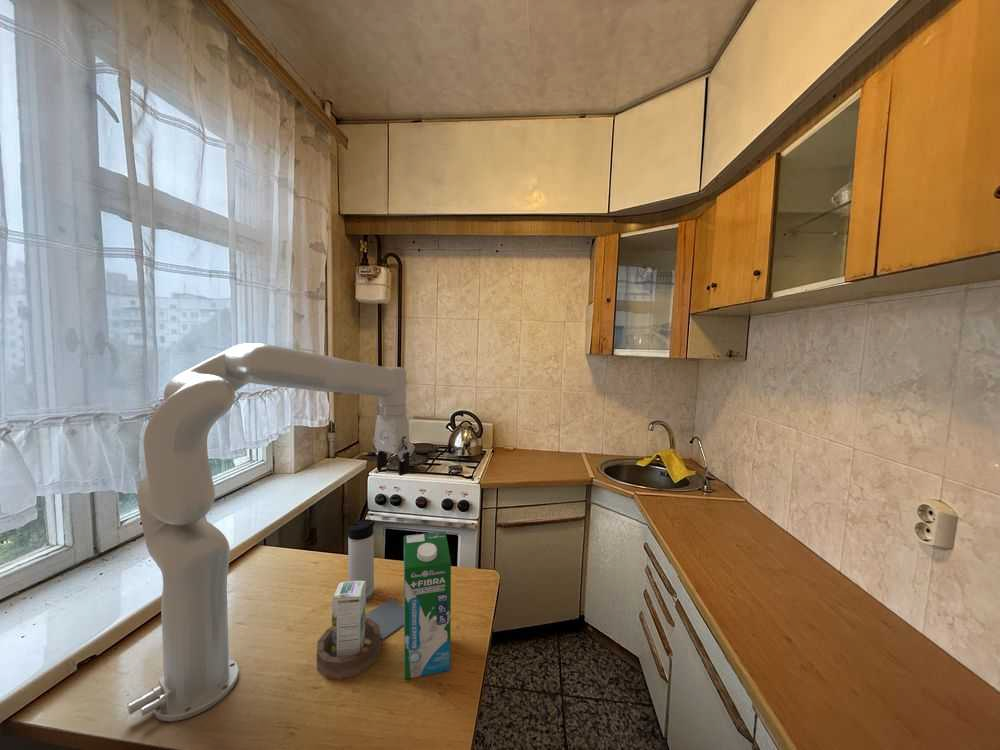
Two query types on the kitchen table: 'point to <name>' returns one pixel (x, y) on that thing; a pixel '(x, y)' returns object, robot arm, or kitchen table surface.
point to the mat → (388, 617)
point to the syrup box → (348, 618)
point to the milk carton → (427, 604)
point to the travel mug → (362, 554)
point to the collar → (349, 664)
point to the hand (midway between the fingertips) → (392, 470)
